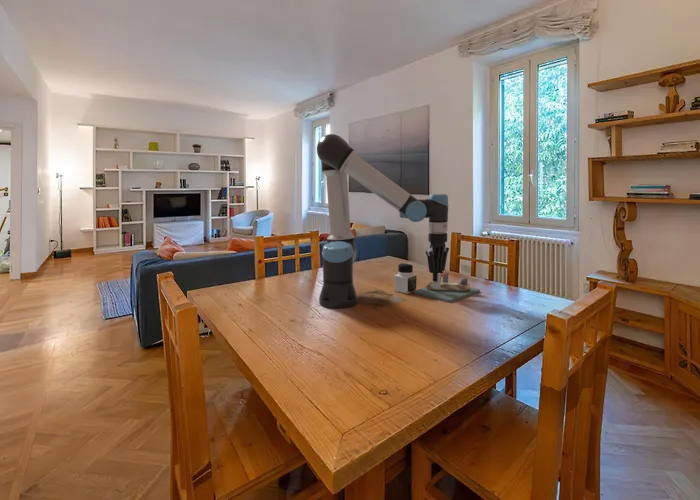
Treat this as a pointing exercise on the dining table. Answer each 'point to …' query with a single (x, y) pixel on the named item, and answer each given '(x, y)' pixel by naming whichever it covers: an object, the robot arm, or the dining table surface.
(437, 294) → the pintle board
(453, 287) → the beige lumpy bar
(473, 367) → the dining table surface
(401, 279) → the medicine bottle
